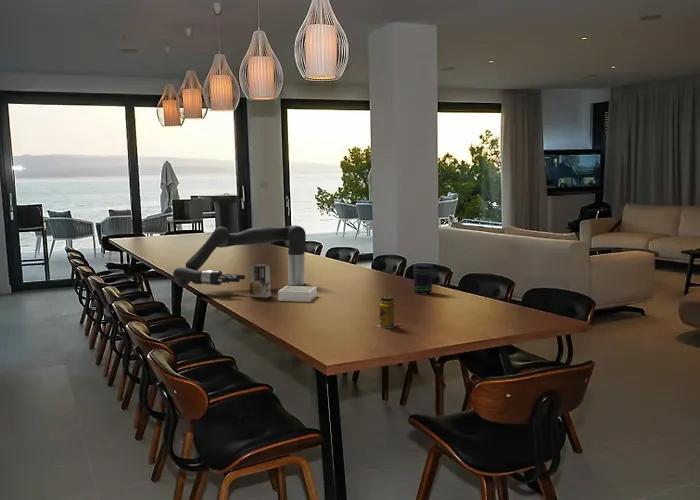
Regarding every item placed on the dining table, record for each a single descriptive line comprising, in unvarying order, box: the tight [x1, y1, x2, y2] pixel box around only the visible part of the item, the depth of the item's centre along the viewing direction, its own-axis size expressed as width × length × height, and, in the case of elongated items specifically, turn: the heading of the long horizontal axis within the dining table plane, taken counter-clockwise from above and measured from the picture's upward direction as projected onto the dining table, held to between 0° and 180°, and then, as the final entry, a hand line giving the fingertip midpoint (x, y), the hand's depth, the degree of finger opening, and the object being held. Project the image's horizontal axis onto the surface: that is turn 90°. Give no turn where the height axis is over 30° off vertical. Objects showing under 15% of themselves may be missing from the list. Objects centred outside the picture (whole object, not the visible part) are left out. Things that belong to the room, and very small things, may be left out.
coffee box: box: [249, 263, 272, 298], centre depth 335 cm, size 9×6×16 cm
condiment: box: [376, 296, 400, 329], centre depth 271 cm, size 7×8×12 cm
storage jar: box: [412, 263, 433, 294], centre depth 347 cm, size 10×10×15 cm
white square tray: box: [277, 285, 318, 303], centre depth 330 cm, size 16×16×5 cm
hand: (242, 278), depth 336 cm, fingers open, 8 cm apart
